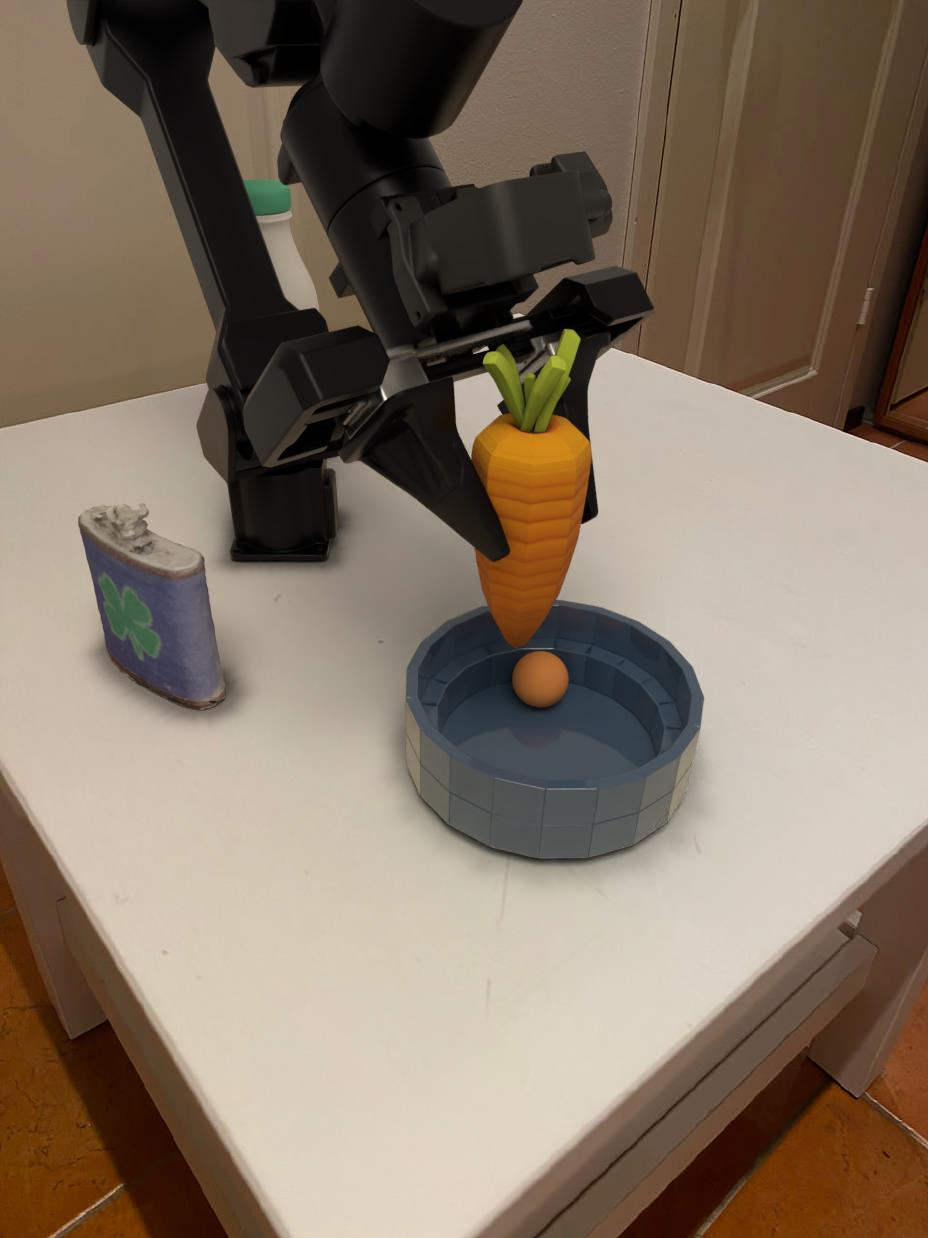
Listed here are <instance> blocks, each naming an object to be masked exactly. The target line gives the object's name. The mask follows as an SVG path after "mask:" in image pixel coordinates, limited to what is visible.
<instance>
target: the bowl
mask: <svg viewBox="0 0 928 1238" xmlns="http://www.w3.org/2000/svg"><path fill="white" fill-rule="evenodd" d="M535 651H545V652H549V653H552V654H554V655H555V656H557V657H558V658H559V659H560V660H561V661H562V662H563V663H564V665H565V667H566V669H567V672H568V677H569V682H568V687H567V690H566V692H565V694H564V696H563V697H562V698H561V699H560V700H559V701H558V702H556V703H555V704H553V705H551V706H548V707H534V706H531V705H528V704H526V703H525V702H523V701H522V700H521V699H520V698H519V697H518V695H517V694H516V692H515V690H514V688H513V683H512V675H513V671H514V668H515V666H516V664H517V663H518V661H519V660H520V659H521V658H522V657H524V656H525V655H527V654H529V653H532V652H535ZM404 697H405V698H404V699H405V741H406V742H405V746H406V747H405V748H406V749H405V751H406V767H407V770H408V771H409V773H410V775H411V776H410V777H411V779H412V780H413V783H414V785H415V787H416V789H417V792H418V794H419V796H420V797H421V799H422V800H424V802H426V804H427V805H428V806H430V808H431V809H432V810H433V811H434V812H436V814H437V815H438V816H440V818H441V819H442V820H443V821H444V822H445V823H446V824H447V825H448V826H450V827H451V828H454V829H456V830H458V831H460V832H461V833H463V834H465V835H467V836H469V837H471V838H472V839H475V840H477V841H479V842H480V843H482V844H484V845H485V846H487V847H490V848H492V849H497V850H500V851H504V852H509V853H513V854H517V855H521V856H525V857H530V858H533V859H587V858H593V857H596V856H597V857H598V856H600V855H603V854H608V853H610V852H614V851H617V850H622V849H625V848H628V847H631V846H634V845H635V844H637V843H639V842H640V841H641V840H643V839H644V838H646V837H647V836H649V835H651V834H652V833H653V832H655V831H656V830H658V829H659V828H661V827H662V826H664V825H666V823H668V821H669V820H670V818H671V817H672V816H673V814H674V812H675V811H676V809H677V808H678V806H679V805H680V804H681V802H682V800H683V798H684V797H685V795H686V794H687V789H688V785H689V781H690V776H691V771H692V767H693V762H694V759H695V754H696V750H697V746H698V741H699V737H700V731H701V728H702V722H703V721H702V720H703V711H704V704H705V703H704V702H705V695H704V693H703V690H702V688H701V684H700V682H699V680H698V677H697V674H696V672H695V668H694V667H693V665H692V664H691V663H690V662H689V660H687V659H686V658H685V657H684V655H683V654H682V653H681V652H680V651H679V650H678V649H677V647H676V646H675V645H674V643H672V641H670V640H669V639H667V638H665V637H664V636H662V635H661V634H660V633H658V632H657V631H655V630H654V629H651V628H650V627H648V626H647V625H646V624H644V623H642V622H641V621H639V620H637V619H634V618H632V617H629V616H627V615H623V614H621V613H618V612H616V611H612V610H610V609H608V608H605V607H603V606H602V607H601V606H598V605H593V604H587V603H580V602H576V601H569V600H565V599H556V601H555V602H554V604H553V606H552V608H551V609H550V611H549V613H548V615H547V617H546V618H545V619H544V621H543V622H542V624H541V625H540V627H539V628H538V629H537V631H536V632H535V633H534V635H533V636H532V637H531V639H530V640H529V641H528V642H527V644H526V645H523V646H521V647H519V648H514V647H513V646H511V645H510V644H508V643H507V641H506V640H505V638H504V636H503V635H502V633H501V631H500V629H499V627H498V625H497V623H496V622H495V620H494V618H493V616H492V614H491V612H490V609H489V607H488V604H486V605H482V606H478V607H476V608H474V609H470V610H469V611H467V612H463V613H462V614H460V615H456V616H454V617H453V618H449V619H448V620H446V621H445V622H444V623H442V624H441V625H439V627H438V628H436V629H435V630H433V632H431V633H430V634H429V635H427V636H426V637H425V638H424V639H422V641H421V642H420V643H419V645H418V647H417V648H416V651H415V652H414V654H413V656H412V658H411V659H410V662H409V663H408V665H407V667H406V670H405V696H404Z"/></svg>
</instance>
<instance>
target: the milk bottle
mask: <svg viewBox="0 0 928 1238" xmlns="http://www.w3.org/2000/svg"><path fill="white" fill-rule="evenodd" d="M243 181H244V184H245V187H246V190H247V192H248V195H249V198H250V201H251V204H252V207H253V209H254V212H255V215H256V218H257V221H258V223H259V226H260V229H261V232H262V235H263V237H264V240H265V243H266V246H267V249H268V252H269V254H270V257H271V260H272V263H273V266H274V268H275V271H276V274H277V277H278V280H279V282H280V285H281V288H282V291H283V293H284V295H285V298H286V299H287V300H288V301H289V302H291V303H292V304H293V305H294V306H295V307H297V308H298V309H299V310H302V309H309V308H316V309H317V310H318V311H319V312H320V313H321V311H320V306H319V300H318V299H319V298H318V295H317V290H316V287H315V285H314V281H313V280H312V277H311V274H310V273H309V270H308V268H307V267H306V265H305V263H304V261H303V259H302V258H301V257H302V256H301V255H300V253H299V251H298V249H297V245H296V243H295V241H294V238H293V234H292V231H291V223H290V219H291V218H292V217H293V213H292V209H291V208H292V195H291V188H290V185H283V184H282V183H281V182H280V180H276V179H267V178H265V179H262V178H261V179H260V178H255V179H254V178H253V179H243Z"/></svg>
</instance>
